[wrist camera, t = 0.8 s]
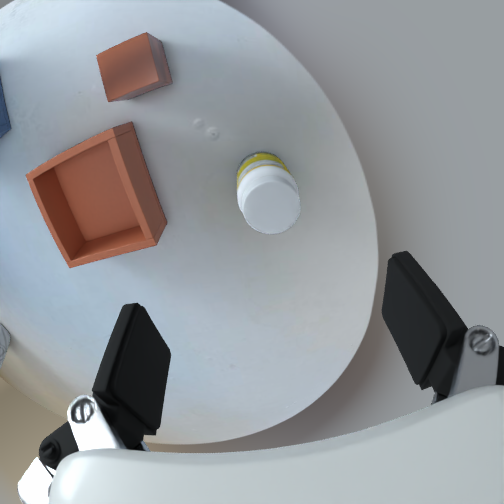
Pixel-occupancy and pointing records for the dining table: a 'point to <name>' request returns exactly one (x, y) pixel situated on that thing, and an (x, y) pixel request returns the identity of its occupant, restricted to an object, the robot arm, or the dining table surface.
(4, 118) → the blue bin
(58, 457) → the robot arm
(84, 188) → the terracotta bin
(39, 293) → the dining table surface
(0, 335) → the mug
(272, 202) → the supplement bottle
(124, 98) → the block
